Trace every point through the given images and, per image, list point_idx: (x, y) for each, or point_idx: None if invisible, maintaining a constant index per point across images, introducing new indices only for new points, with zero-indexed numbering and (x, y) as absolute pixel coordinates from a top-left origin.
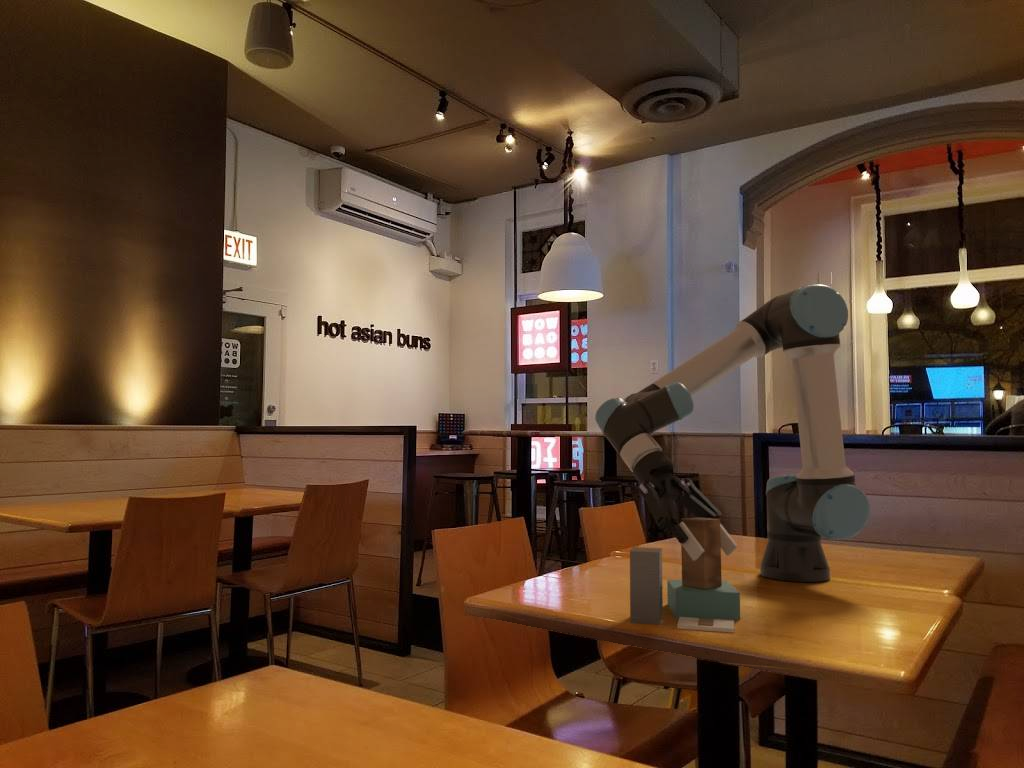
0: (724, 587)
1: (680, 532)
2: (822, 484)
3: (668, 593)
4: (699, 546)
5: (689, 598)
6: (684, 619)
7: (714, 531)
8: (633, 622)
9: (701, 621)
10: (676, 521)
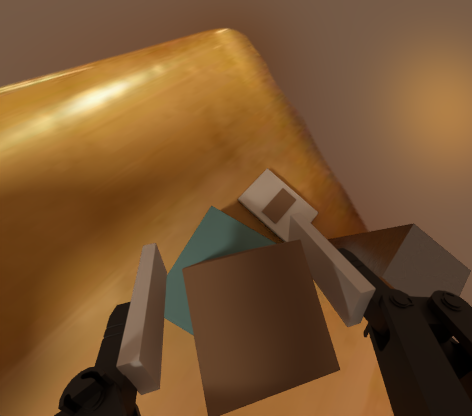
0: (203, 251)
1: (362, 263)
2: None
3: None
4: (305, 220)
5: None
6: None
7: (223, 257)
8: None
9: (285, 207)
10: (396, 292)
